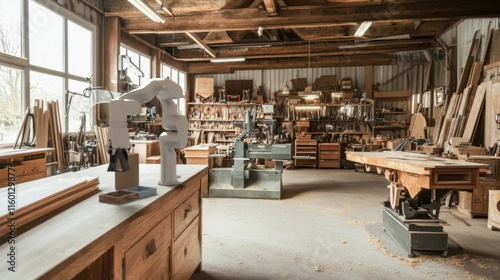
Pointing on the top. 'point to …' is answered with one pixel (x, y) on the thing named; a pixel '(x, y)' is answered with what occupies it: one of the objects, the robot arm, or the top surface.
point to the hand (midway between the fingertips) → (118, 162)
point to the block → (128, 173)
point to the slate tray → (142, 191)
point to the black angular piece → (123, 162)
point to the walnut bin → (114, 196)
